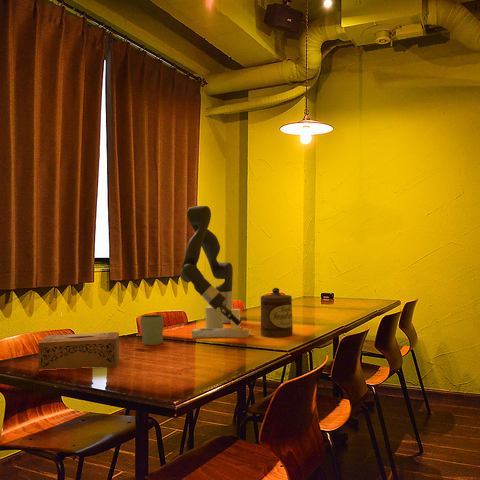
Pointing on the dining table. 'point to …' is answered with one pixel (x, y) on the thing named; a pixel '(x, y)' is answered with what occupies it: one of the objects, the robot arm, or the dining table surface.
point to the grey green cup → (152, 329)
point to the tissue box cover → (79, 350)
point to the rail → (220, 333)
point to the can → (213, 317)
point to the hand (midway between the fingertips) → (239, 323)
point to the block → (237, 315)
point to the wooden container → (276, 315)
